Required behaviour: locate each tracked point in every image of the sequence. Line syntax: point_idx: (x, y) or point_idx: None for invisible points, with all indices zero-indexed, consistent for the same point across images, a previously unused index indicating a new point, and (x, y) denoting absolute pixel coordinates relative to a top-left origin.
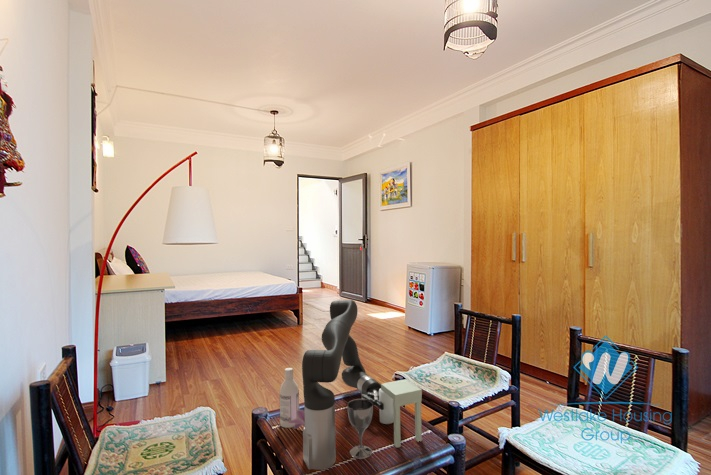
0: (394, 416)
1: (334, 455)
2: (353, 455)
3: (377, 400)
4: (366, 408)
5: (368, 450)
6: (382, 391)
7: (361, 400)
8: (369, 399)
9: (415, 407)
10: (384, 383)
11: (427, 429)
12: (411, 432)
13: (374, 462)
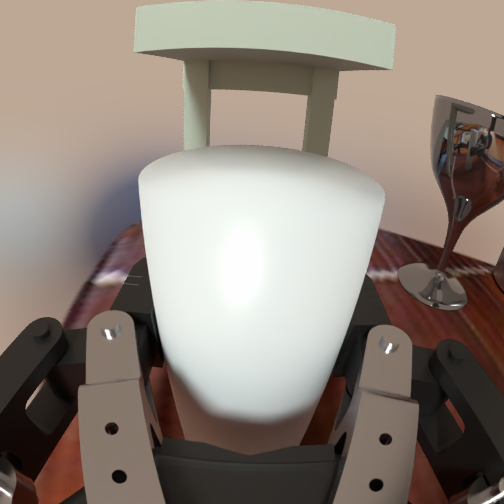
0: (326, 147)
1: (501, 255)
2: (454, 276)
3: (375, 322)
4: (463, 145)
5: (411, 273)
6: (338, 173)
7: (493, 120)
8: (471, 354)
9: (207, 120)
10: (365, 18)
11: (101, 286)
12: None
13: (394, 244)
